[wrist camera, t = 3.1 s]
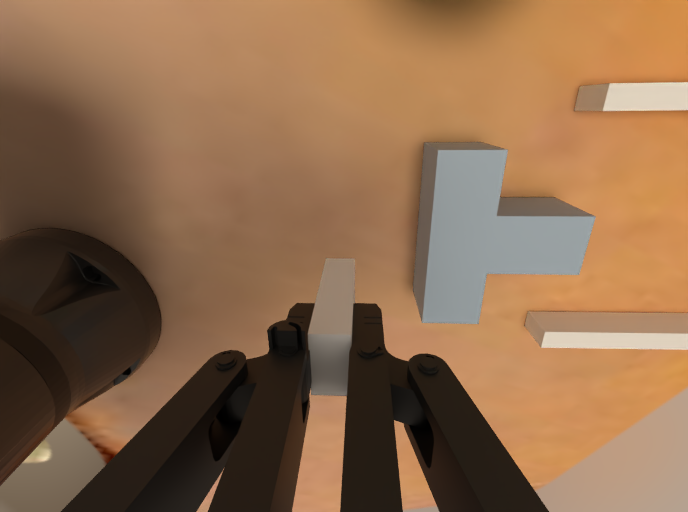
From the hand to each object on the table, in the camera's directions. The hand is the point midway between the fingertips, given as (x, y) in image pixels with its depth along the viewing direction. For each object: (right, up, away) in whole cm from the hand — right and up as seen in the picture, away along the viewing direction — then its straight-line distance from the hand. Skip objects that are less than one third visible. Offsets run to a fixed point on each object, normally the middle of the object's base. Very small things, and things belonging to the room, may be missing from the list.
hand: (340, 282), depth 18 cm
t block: (+10, +4, +9) cm, 14 cm away
